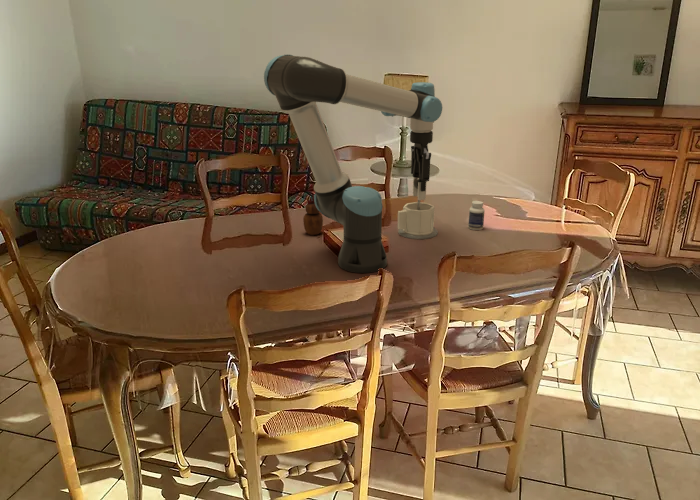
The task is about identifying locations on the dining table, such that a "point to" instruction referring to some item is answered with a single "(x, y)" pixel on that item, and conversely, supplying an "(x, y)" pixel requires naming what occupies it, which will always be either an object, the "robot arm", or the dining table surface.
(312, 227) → the wooden figurine
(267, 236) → the dining table surface
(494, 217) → the dining table surface
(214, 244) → the dining table surface
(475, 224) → the pill bottle
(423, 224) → the white faceted cup
